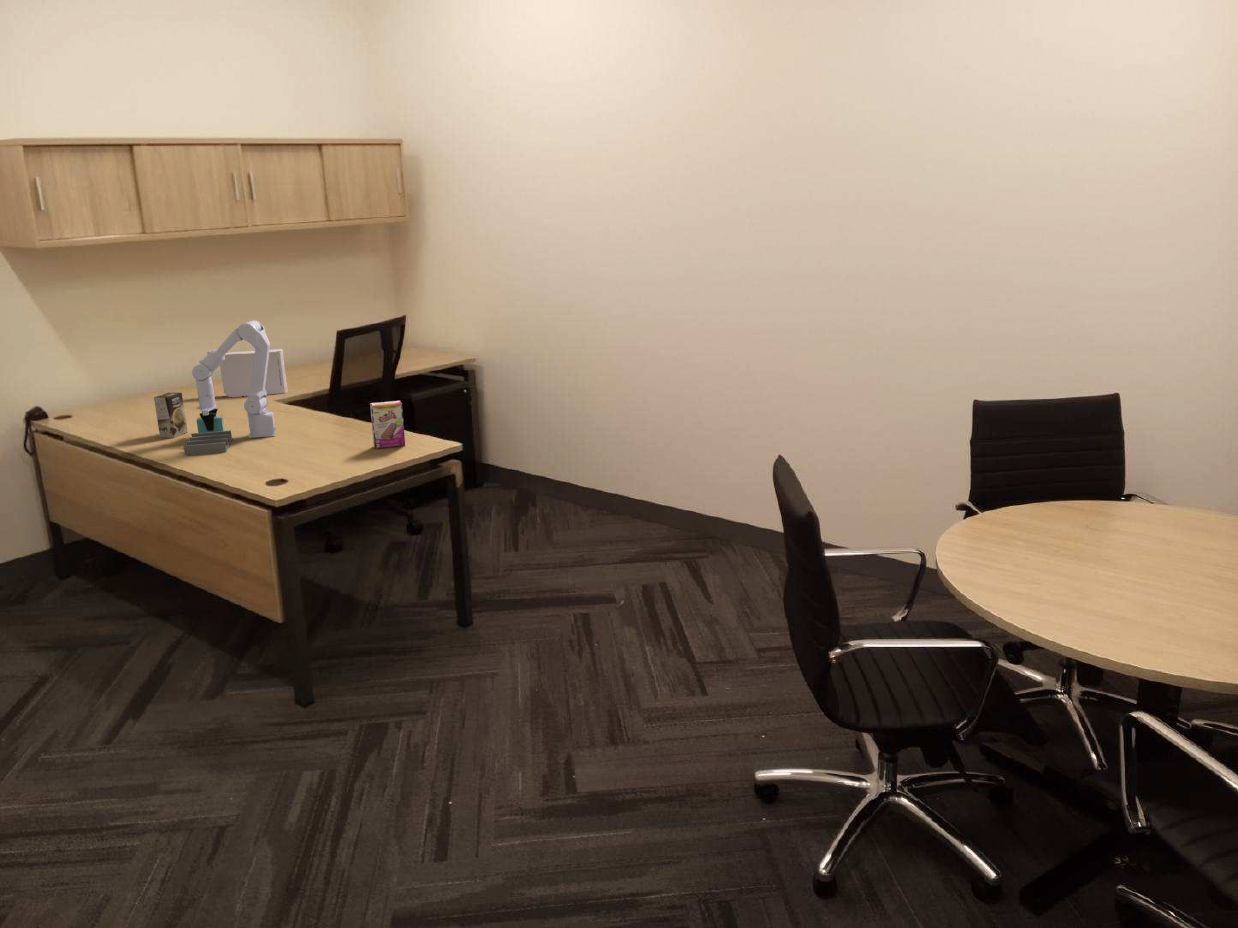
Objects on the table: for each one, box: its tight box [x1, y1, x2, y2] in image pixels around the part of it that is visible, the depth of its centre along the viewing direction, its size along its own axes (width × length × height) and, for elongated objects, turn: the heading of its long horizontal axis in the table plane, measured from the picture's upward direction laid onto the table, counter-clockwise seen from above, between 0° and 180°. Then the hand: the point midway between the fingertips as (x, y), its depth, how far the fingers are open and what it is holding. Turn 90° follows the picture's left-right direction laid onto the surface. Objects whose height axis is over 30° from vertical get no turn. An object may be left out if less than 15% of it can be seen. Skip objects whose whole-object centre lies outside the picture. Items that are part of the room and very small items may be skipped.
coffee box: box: [153, 392, 189, 439], centre depth 375 cm, size 9×6×16 cm
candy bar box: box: [369, 400, 406, 450], centre depth 353 cm, size 11×5×16 cm, turn 110°
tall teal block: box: [195, 415, 226, 433], centre depth 373 cm, size 9×4×8 cm, turn 105°
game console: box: [219, 348, 289, 398], centre depth 442 cm, size 6×27×20 cm, turn 106°
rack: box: [183, 430, 233, 456], centre depth 359 cm, size 14×19×4 cm
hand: (211, 429), depth 373 cm, fingers closed on tall teal block, 3 cm apart
